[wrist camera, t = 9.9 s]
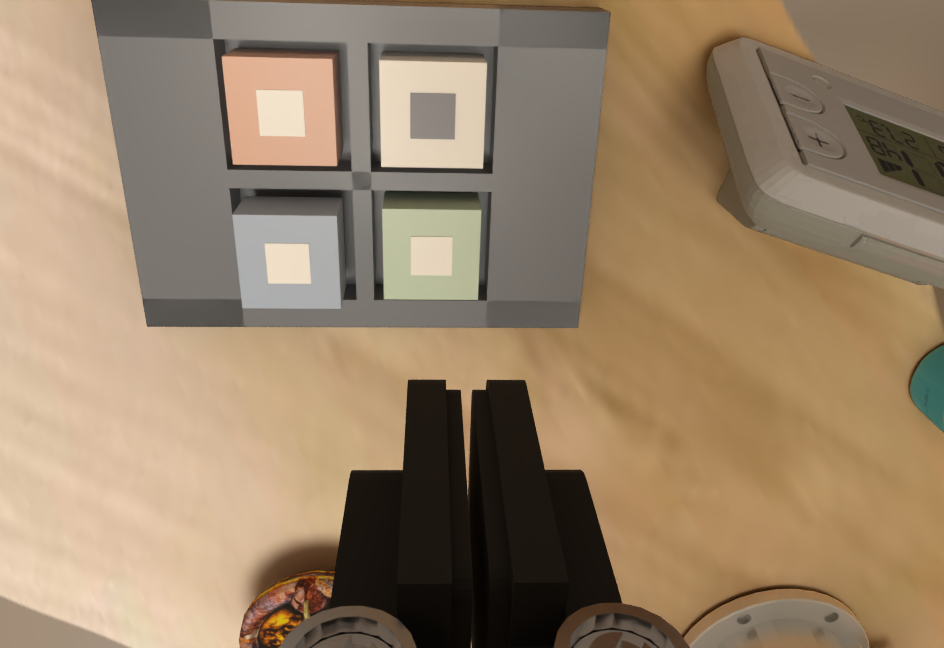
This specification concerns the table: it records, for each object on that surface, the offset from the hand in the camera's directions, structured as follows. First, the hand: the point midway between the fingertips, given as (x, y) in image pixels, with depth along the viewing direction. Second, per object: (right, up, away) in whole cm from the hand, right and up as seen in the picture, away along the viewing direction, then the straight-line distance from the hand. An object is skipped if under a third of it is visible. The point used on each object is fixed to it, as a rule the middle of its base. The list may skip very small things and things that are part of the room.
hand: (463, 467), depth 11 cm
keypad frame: (-5, +9, +24) cm, 26 cm away
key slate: (-8, +6, +24) cm, 26 cm away
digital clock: (+17, +10, +25) cm, 32 cm away
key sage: (-2, +6, +25) cm, 26 cm away
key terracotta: (-8, +12, +22) cm, 26 cm away
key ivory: (-2, +12, +22) cm, 25 cm away
